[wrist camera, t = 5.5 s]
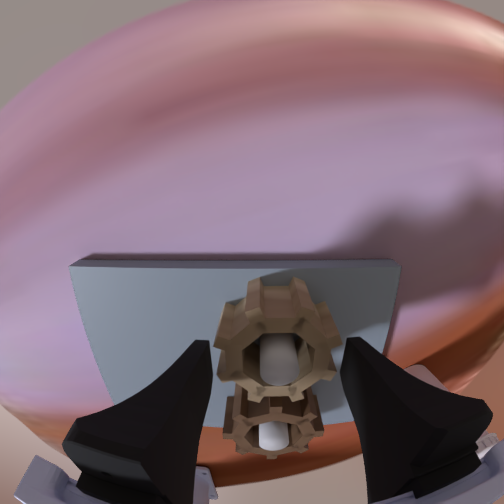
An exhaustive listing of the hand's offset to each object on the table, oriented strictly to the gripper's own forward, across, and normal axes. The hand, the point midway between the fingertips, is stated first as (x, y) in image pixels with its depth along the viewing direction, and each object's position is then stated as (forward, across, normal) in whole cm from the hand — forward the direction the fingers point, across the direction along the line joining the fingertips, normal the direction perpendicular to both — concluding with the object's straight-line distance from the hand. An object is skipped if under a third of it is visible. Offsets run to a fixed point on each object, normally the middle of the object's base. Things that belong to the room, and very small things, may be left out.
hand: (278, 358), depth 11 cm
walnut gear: (+3, 0, +6) cm, 6 cm away
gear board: (+4, +2, +3) cm, 5 cm away
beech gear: (+3, 0, 0) cm, 3 cm away
